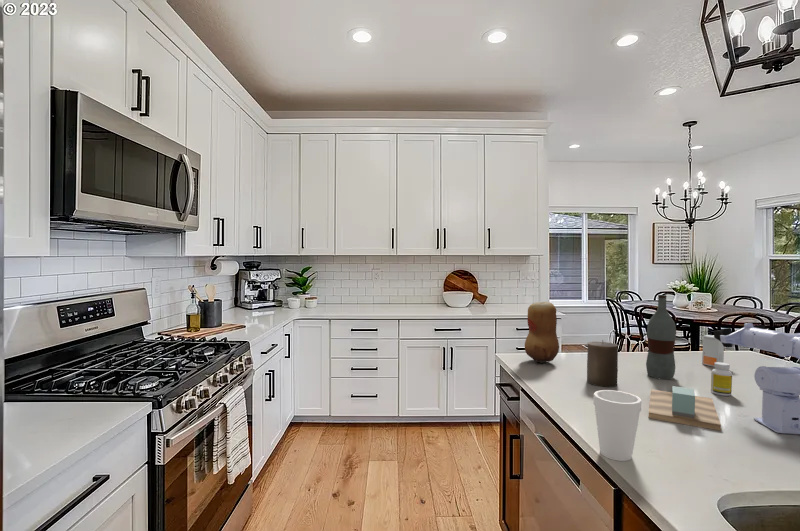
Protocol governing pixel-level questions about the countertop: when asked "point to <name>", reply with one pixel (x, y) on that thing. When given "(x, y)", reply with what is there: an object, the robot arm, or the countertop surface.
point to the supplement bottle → (721, 379)
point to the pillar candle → (602, 364)
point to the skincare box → (712, 351)
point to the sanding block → (683, 402)
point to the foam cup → (616, 423)
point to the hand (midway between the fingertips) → (727, 333)
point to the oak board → (663, 411)
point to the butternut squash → (542, 332)
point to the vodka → (661, 343)
